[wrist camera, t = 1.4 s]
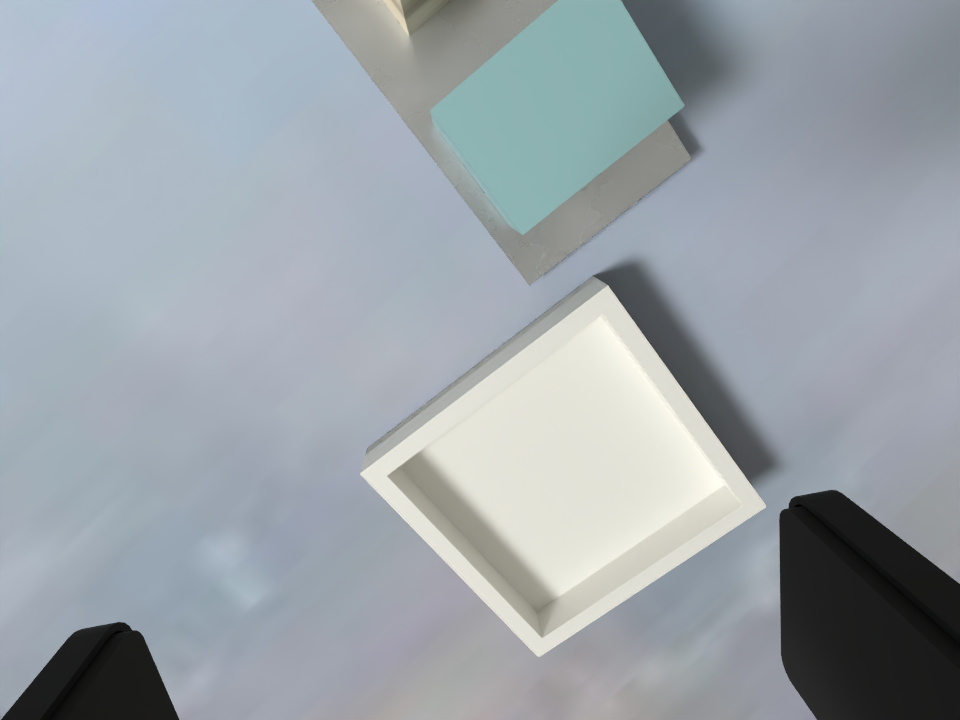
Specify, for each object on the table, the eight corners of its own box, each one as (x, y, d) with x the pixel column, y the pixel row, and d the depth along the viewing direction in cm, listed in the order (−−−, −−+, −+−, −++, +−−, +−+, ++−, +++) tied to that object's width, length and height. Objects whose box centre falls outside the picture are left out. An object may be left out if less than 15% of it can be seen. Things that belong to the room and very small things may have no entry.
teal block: (570, 5, 26) (599, -36, 21) (643, 119, 27) (684, 106, 22) (433, 123, 27) (429, 110, 22) (510, 226, 28) (522, 234, 24)
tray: (592, 275, 31) (607, 285, 28) (740, 480, 35) (766, 506, 32) (367, 448, 33) (359, 473, 30) (531, 620, 37) (538, 657, 34)
